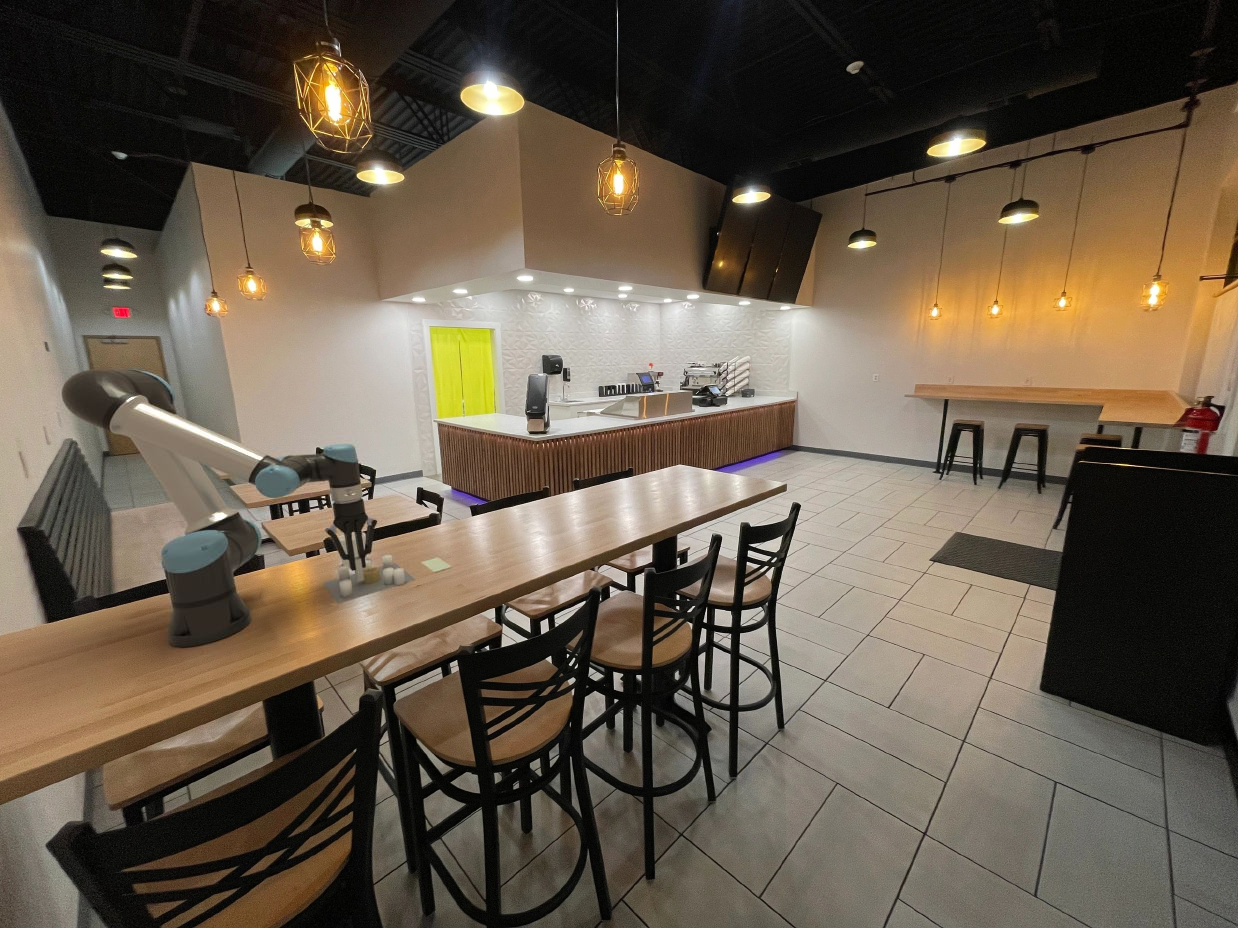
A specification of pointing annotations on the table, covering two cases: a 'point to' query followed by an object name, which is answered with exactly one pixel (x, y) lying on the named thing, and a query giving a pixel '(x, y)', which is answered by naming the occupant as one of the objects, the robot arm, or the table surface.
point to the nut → (371, 575)
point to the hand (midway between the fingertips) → (360, 579)
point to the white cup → (343, 543)
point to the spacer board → (351, 588)
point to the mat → (436, 564)
